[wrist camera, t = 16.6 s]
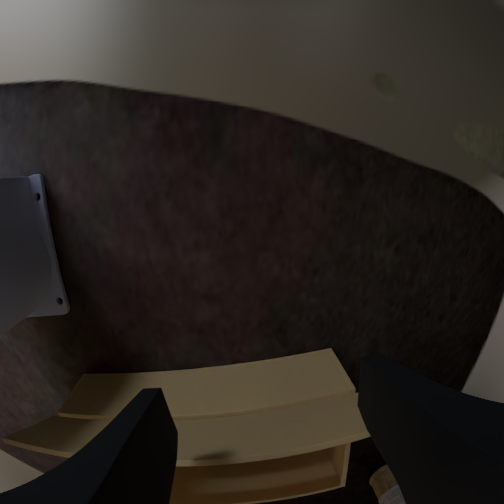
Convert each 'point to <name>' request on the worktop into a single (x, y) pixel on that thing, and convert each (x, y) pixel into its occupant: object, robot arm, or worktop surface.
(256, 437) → the flap
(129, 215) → the worktop surface
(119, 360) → the worktop surface
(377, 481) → the sprinkles bottle
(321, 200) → the worktop surface
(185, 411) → the carton
